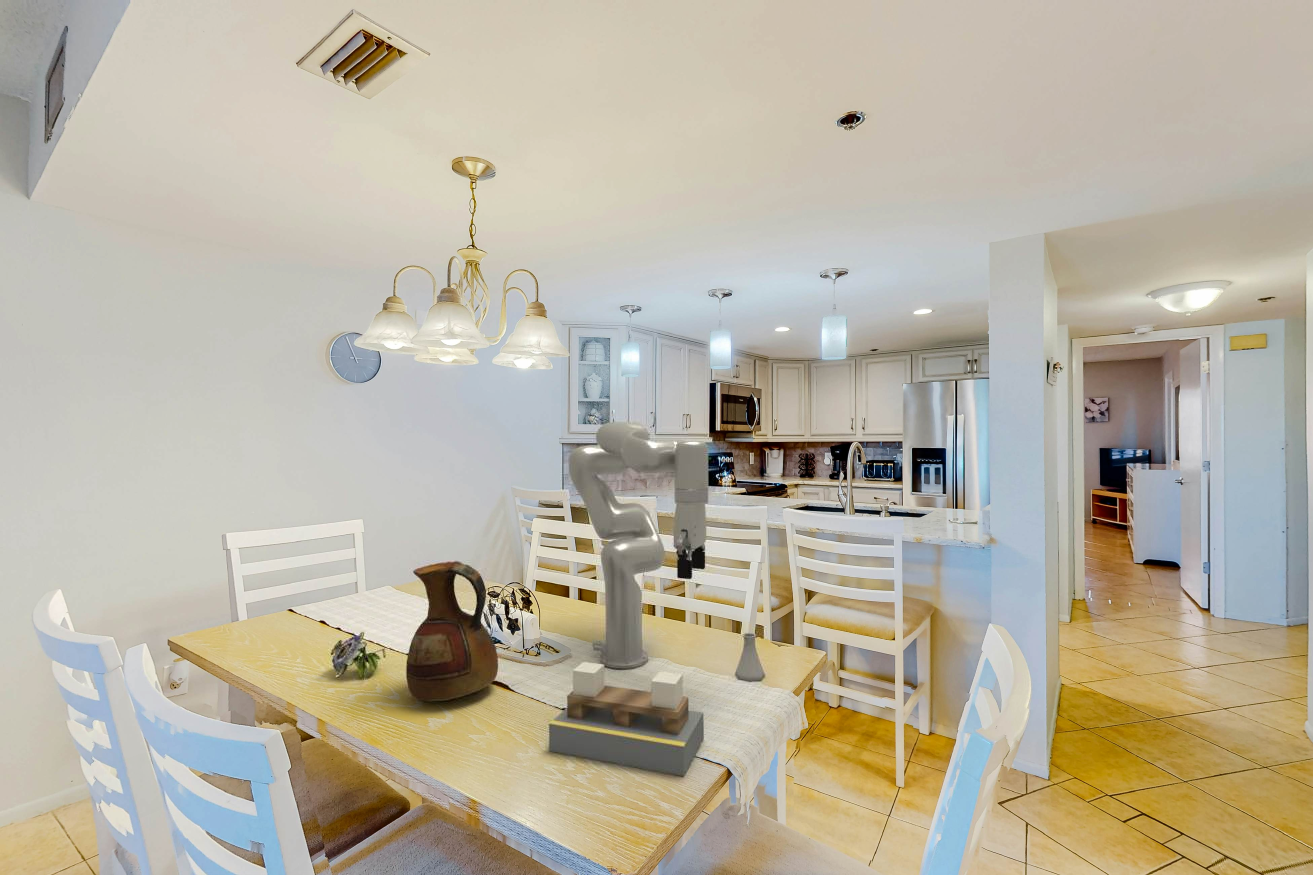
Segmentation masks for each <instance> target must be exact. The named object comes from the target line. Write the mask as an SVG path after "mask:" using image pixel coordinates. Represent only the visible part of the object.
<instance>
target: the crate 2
mask: <svg viewBox="0 0 1313 875" xmlns="http://www.w3.org/2000/svg"><path fill="white" fill-rule="evenodd" d="M683 678H684V677H683V674H680V673H674V672H673V673H672V672H665V671H659V672H658V673H657V674H656V675H655V676H654V678H653V679H652V680H651V692H652V706H656V707H663V708H669V709H676V708H677V707H678V705H679V704H680V702H681V701H682V699H683V696H684V686H683V685H684V684H683V683H684V680H683Z"/></svg>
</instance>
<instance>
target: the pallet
mask: <svg viewBox="0 0 1313 875" xmlns="http://www.w3.org/2000/svg"><path fill="white" fill-rule="evenodd" d="M604 687H605V688H604V689H603V690H602V691H601V692H600V693H599V694H598V695H596V696H595V697H588V696H582V695H575V694H573V690H572V691H571V692H570V693H569V694H567V695H566V708H567V717H570V718H576V719H583V718H584V717H585V716H586V715H587V714H588V713H589V712H590V710H591V709H592V708H593V707H594V706H595V707H601V708H608V709H613V725H619V726H625V727H629V726H630V725H631V723H632V722H633V721H634V720H635V718H636V717H637V716H638V715H639V713H640V714H647V715H653V716H660V717H662V733H668V734H674V735H679V733H680V732H681V730H682V729H683V727H684V725H685V724H686V722H687V720H688V719H689V711H690V710H689V708H690V707H689V696H684V695H683V699H682V701H681V702H680V704H679V705H678V707H677V708H676V709H669V708H663V707H656V706H652V691H646V690H640V689H634V688H633V689H632V688H626V687H617V686H611V685H605V684H604Z"/></svg>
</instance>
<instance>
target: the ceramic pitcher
mask: <svg viewBox="0 0 1313 875" xmlns="http://www.w3.org/2000/svg"><path fill="white" fill-rule="evenodd" d="M412 572H413V574H414V575H415V576H416V577H417V578H418V579H420V580H421V581H422V583H423V585H424V587H425V592H426V598H427V600H428V602H427V603H428V609H427V616H426V618H425V619H424V620H423V622H422V623H420V624H419V626H418V628H417V629H416V630H415V633H414V635H413V637H412V639H411V642H410V644H409V648H408V649H409V650H408V653H407V658H406V669H405V673H406V675H405V676H406V684H407V688H408V690H409V693H410V694H411V695H410V696H413V698H415V699H417V700H420V701H426V702H431V701H432V702H436V701H437V702H438V701H449V700H451V699H457V698H461V697H465V696H468V695H471V694H473V693H475V692H477V691H481V690H483V689H484V688H486V687H487V686H489V685H490V684H493V682H494V681H495V679H496V677H497V675H498V670H499V658H498V652H497V649H496V644H495V642H494V640H493V638H492V636H491V634H490V633H489V631H488V629H487V628H486V626H484V624H483V622H482V615H483V612H484V608H485V605H486V600H487V590H486V585H485V582H484V580H483V577H482V576H481V574H480V572H479V571H478V570H477V569H475V568H473V567H472V566H471V565H469V564H464V563H462V562H461V561H458V560H455V561H446V562H438V563H434V564H429V565H425V566H422V567H419V568H416V569H414V570H413V571H412ZM457 575H458V576H461V577H463V578H465V579H466V580H467V581H468V582H469V583H470V584H471V586H472V588H473V590H474V592H475V597H476V603H475V605H476V606H475V610H474V614H471V613H468V612H466V611H463V609H461V607H460V606H459V603H458V600H457V597H456V592H455V579H456V577H457Z"/></svg>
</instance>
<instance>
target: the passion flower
mask: <svg viewBox="0 0 1313 875" xmlns="http://www.w3.org/2000/svg"><path fill="white" fill-rule="evenodd" d="M364 636H365V631H360V633H359V635H354V636H351V637H349V638H348V639H346V640H345V641H343V640H342V639H339V640H338V641H337V643H335V645H334V647H333V648H332V649H331V652H330V655H331V656H332V658H331V659H332V660H331V662H332V664H333V665H332V668H334V670H335V672H337V673H336V675H339V677H342V675H344V674H345V672H346V671H347V669H348V667H349V666H350V667H351V666H352V665H354V666H355V667H356V668H357V672H358V677H359V678H360V679H361V678H365V679H366V675H367V671H368V668H369V670H370V675H373V674H374V672H375V670H377V669H378V666H379V661H380V660H381V657H380V655H378V654H377V652H382V653H383V658H386V656H387V655H386V648H381V649H380V650H377V651H375V652H369V653H367V649H366V647H367V646H368V642H367V641H362V640H363V639H364ZM378 660H379V661H378ZM367 664H368V665H367ZM336 675H335V676H336Z"/></svg>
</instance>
